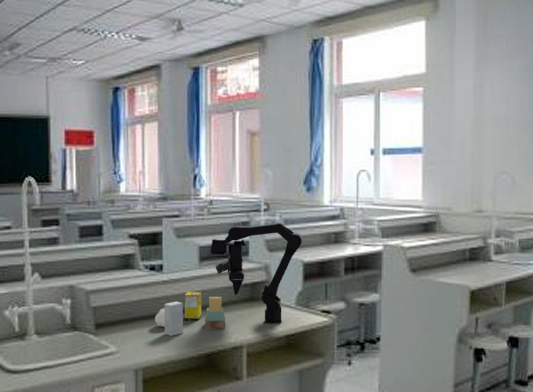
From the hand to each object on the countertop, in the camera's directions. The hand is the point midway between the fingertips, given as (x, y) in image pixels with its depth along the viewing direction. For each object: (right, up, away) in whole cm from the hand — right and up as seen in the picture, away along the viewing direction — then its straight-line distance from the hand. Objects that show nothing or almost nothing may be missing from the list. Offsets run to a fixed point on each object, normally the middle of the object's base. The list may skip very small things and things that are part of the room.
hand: (235, 292), depth 250 cm
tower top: (-8, -9, -9) cm, 15 cm away
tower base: (-8, -13, -9) cm, 18 cm away
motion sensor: (-28, -13, -10) cm, 33 cm away
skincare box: (-23, -13, -20) cm, 33 cm away
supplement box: (-18, -12, +3) cm, 22 cm away
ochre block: (-8, -6, -9) cm, 14 cm away
